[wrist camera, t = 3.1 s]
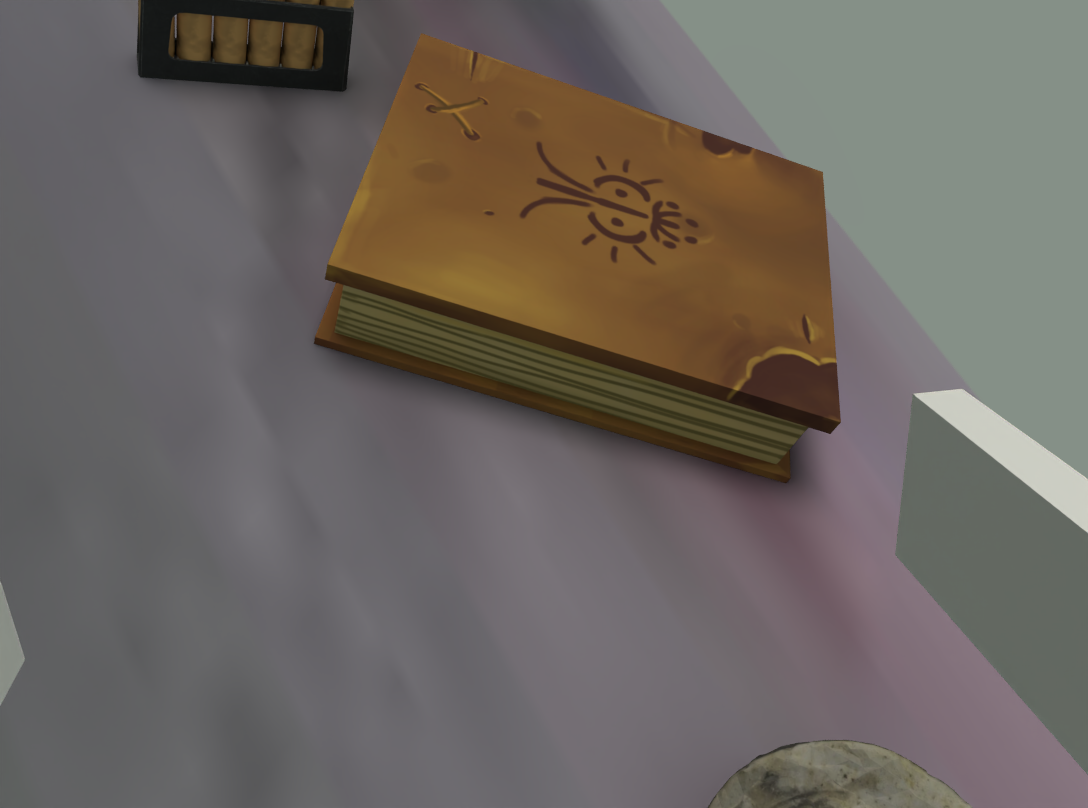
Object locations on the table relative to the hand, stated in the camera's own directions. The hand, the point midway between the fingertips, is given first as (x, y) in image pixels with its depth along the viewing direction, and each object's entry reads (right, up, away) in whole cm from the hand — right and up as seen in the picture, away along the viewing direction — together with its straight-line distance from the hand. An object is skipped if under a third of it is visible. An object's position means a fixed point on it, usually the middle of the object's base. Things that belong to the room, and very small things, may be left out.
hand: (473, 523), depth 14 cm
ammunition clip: (-15, +19, +40) cm, 47 cm away
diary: (+3, +8, +38) cm, 39 cm away
